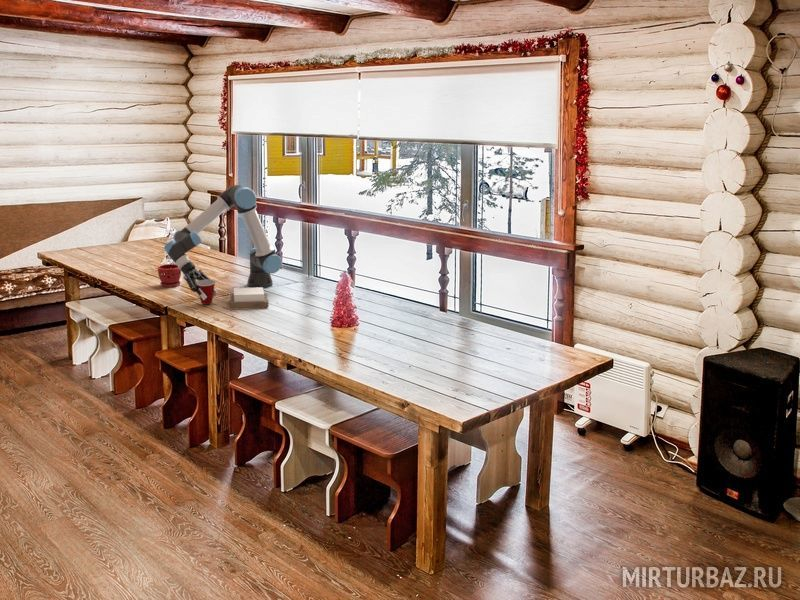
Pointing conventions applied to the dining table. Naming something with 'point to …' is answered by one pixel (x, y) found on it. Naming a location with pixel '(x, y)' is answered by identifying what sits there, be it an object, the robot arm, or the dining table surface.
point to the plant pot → (169, 275)
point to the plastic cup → (206, 289)
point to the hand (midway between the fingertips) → (210, 296)
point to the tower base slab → (249, 303)
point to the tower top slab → (248, 294)
